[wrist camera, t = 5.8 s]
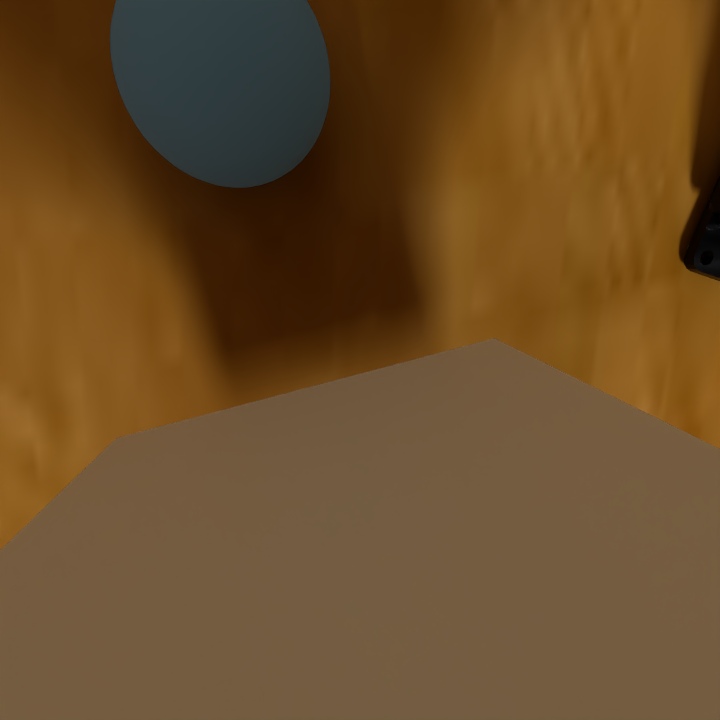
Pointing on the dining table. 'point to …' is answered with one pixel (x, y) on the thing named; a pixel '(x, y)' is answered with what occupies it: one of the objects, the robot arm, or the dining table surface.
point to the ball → (223, 83)
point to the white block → (378, 559)
